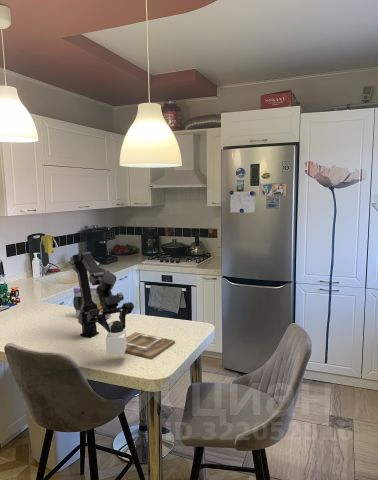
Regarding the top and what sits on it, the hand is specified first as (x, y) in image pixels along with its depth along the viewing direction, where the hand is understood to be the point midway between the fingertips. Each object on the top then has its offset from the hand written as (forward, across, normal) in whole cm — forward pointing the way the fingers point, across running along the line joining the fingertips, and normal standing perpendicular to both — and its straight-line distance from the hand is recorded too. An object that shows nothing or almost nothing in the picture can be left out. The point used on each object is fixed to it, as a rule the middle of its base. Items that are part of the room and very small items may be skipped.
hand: (117, 330), depth 152 cm
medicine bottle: (+6, 0, +8) cm, 9 cm away
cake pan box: (-31, +9, +50) cm, 60 cm away
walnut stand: (+4, +15, +15) cm, 21 cm away
